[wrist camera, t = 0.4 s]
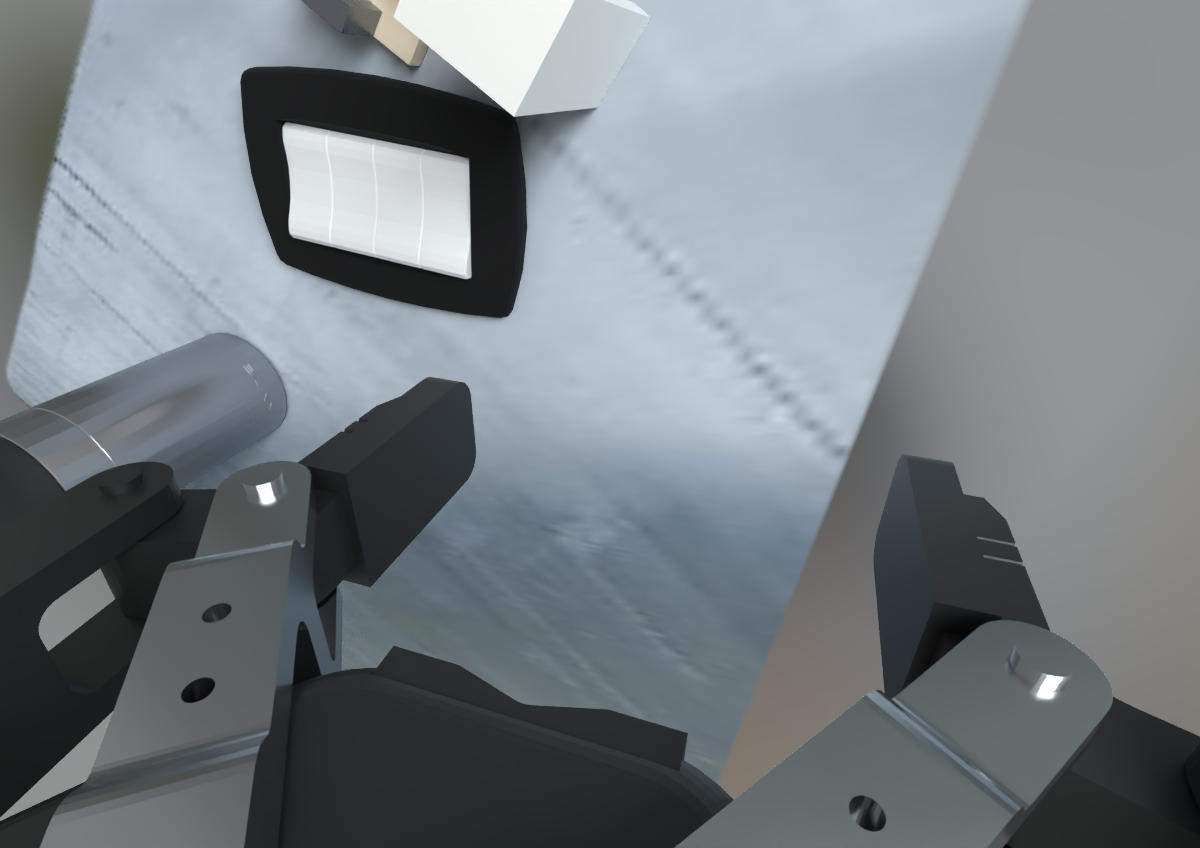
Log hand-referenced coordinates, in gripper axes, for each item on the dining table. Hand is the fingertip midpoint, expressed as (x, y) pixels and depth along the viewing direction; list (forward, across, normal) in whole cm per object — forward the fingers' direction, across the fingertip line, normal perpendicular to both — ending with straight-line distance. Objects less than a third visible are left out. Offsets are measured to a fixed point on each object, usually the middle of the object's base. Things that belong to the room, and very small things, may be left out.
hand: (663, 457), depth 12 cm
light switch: (+27, -24, -1) cm, 37 cm away
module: (+27, -11, +8) cm, 30 cm away
